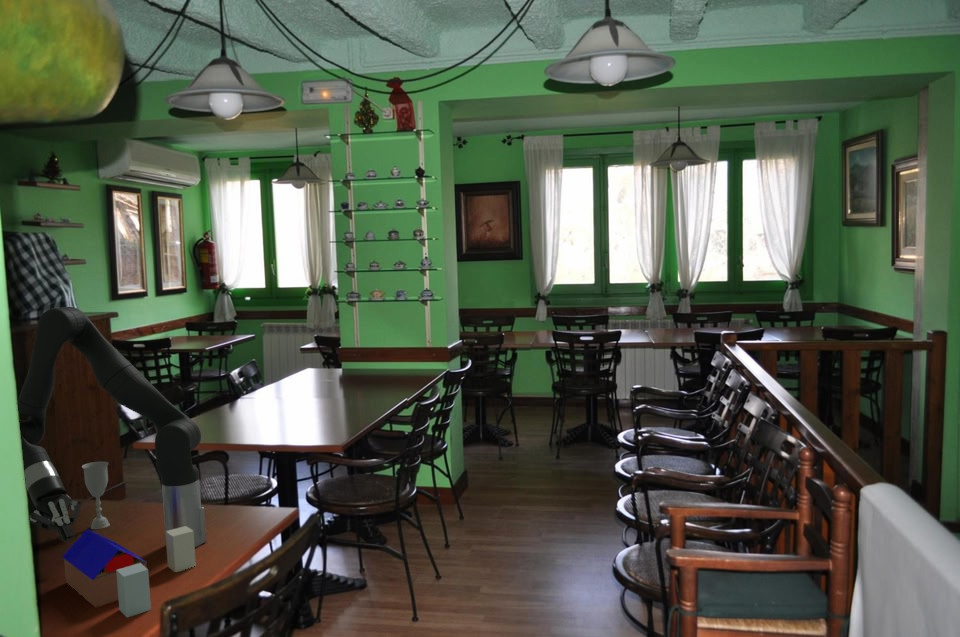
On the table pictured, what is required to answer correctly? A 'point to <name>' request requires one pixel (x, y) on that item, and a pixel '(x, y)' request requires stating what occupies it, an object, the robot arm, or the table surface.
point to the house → (97, 567)
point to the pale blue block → (133, 590)
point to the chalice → (97, 488)
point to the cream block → (180, 548)
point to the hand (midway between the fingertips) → (69, 539)
